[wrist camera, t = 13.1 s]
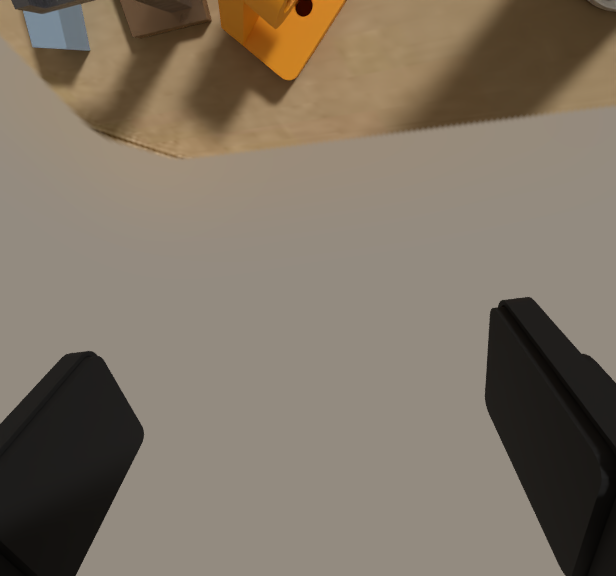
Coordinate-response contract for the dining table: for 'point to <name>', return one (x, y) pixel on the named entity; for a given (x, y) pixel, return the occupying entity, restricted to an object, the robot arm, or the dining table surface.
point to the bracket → (278, 30)
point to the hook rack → (138, 13)
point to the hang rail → (58, 29)
